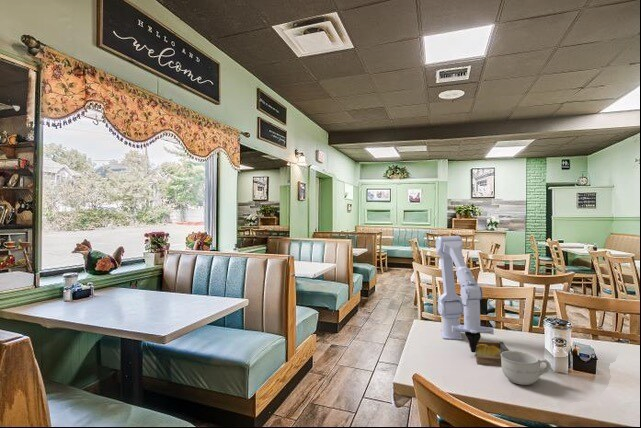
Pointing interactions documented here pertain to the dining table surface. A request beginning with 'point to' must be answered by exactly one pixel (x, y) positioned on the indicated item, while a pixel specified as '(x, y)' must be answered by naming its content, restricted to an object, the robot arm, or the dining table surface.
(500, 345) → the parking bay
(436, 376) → the dining table surface
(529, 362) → the teacup
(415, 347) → the dining table surface
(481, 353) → the bread roll
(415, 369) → the dining table surface
